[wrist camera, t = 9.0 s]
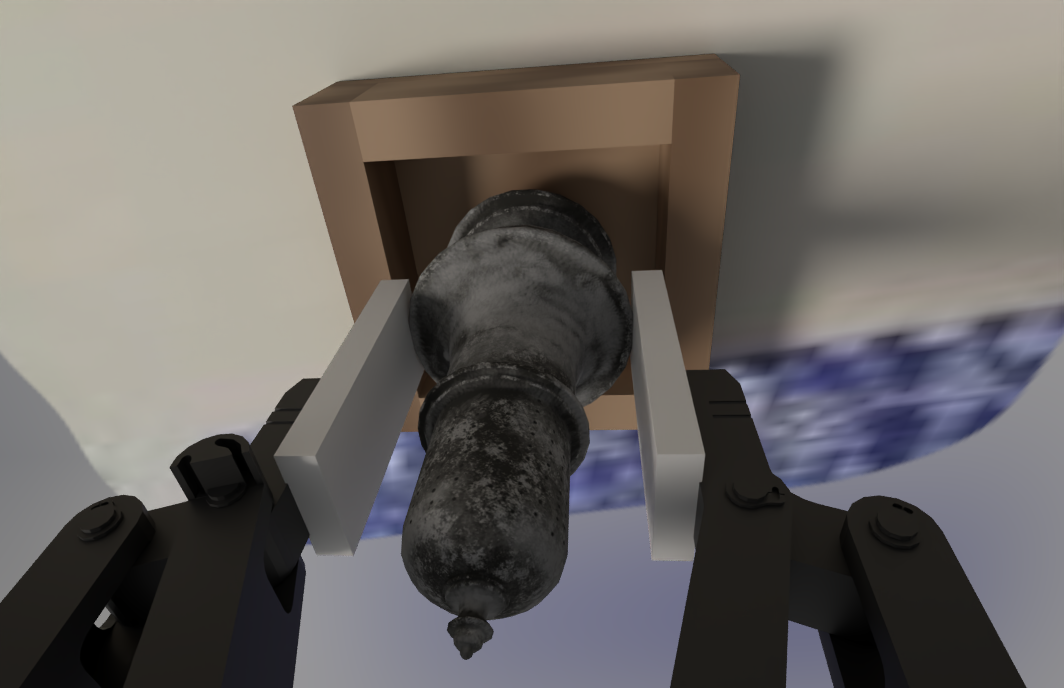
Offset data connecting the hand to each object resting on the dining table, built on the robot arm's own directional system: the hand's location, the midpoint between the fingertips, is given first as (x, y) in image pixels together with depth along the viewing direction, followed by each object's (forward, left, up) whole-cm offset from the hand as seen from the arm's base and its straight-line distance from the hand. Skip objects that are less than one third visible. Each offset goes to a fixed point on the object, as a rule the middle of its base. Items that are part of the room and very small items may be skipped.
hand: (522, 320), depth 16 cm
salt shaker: (0, 0, -3) cm, 3 cm away
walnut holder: (0, 0, -5) cm, 5 cm away
